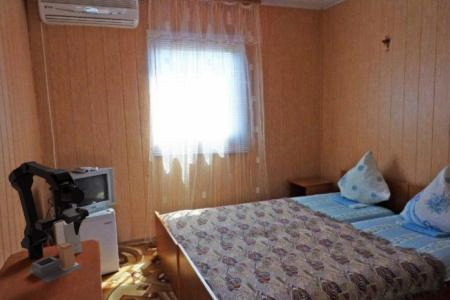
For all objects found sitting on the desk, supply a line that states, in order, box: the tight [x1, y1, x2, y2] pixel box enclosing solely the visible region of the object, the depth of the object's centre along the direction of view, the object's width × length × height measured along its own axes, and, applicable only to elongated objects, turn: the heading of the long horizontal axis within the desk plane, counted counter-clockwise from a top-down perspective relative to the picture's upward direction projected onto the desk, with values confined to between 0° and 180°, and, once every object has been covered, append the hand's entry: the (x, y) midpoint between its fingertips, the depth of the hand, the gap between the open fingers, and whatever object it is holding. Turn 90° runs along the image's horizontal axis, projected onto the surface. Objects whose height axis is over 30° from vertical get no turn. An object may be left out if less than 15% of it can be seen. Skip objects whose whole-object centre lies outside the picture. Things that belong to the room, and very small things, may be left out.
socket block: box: [27, 255, 84, 284], centre depth 123 cm, size 16×14×5 cm
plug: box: [58, 243, 76, 269], centre depth 124 cm, size 4×4×9 cm
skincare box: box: [62, 221, 83, 255], centre depth 138 cm, size 8×6×15 cm
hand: (65, 239), depth 123 cm, fingers open, 9 cm apart
